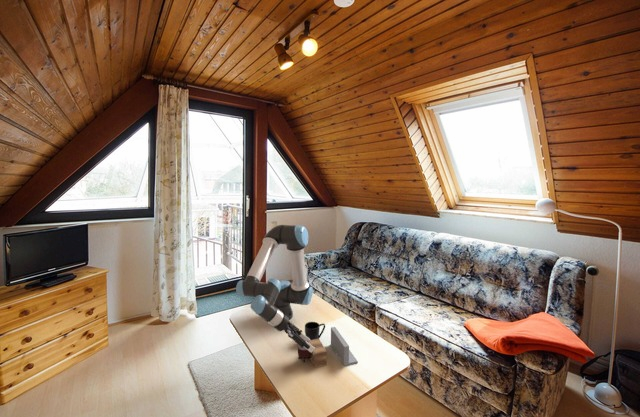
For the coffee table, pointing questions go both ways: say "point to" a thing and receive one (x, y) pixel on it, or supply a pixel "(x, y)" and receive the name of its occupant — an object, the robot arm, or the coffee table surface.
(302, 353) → the mate gourd
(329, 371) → the coffee table surface
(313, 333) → the mug
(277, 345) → the coffee table surface
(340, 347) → the backstop board
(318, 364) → the tan block with ledge
